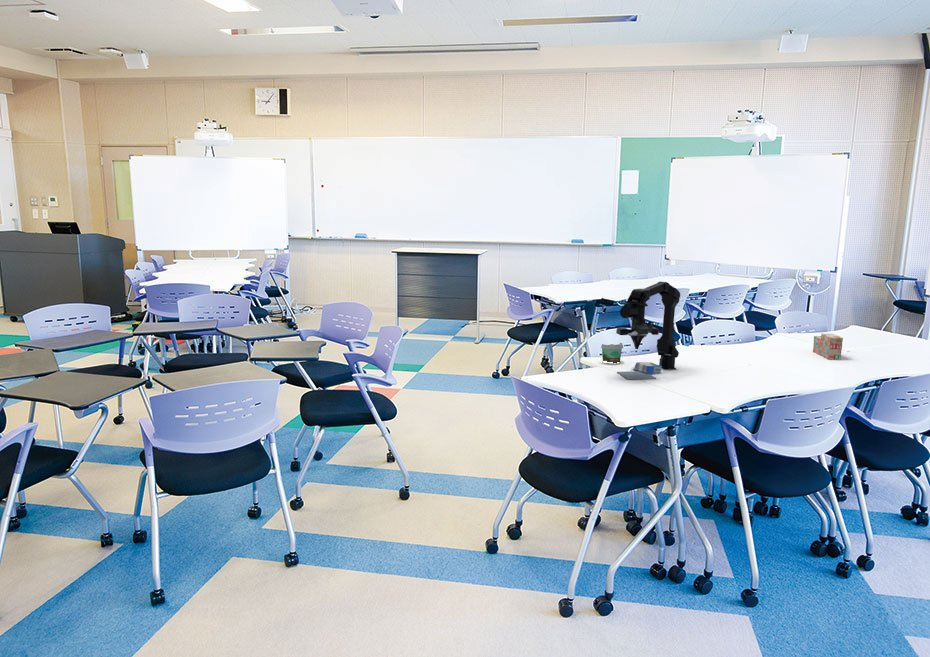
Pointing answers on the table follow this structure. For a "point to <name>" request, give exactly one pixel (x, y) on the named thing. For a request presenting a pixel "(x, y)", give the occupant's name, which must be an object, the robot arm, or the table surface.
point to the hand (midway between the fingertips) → (636, 349)
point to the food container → (611, 352)
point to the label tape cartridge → (648, 367)
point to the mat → (636, 375)
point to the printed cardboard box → (828, 346)
